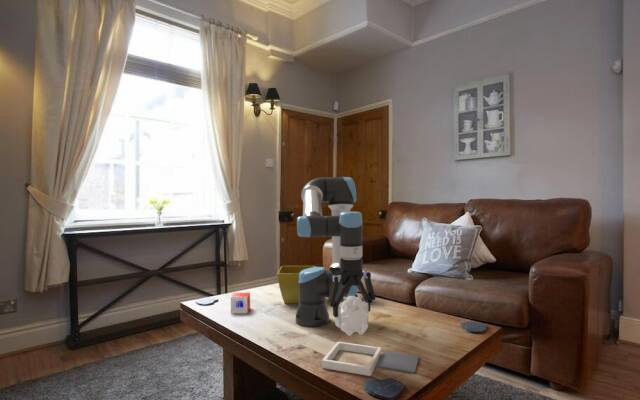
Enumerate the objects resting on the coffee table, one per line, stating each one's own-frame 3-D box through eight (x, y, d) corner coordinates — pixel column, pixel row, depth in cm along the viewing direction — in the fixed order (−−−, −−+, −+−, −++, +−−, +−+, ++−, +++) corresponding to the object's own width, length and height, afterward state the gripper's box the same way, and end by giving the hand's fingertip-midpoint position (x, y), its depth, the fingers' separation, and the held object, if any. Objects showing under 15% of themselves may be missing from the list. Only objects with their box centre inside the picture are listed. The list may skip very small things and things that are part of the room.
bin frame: (322, 367, 117) (321, 360, 117) (337, 348, 132) (337, 341, 132) (370, 376, 111) (370, 368, 111) (381, 354, 126) (381, 347, 126)
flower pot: (314, 305, 184) (314, 272, 184) (277, 305, 184) (276, 273, 184) (315, 295, 203) (315, 265, 203) (281, 295, 204) (281, 266, 203)
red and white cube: (250, 308, 182) (250, 292, 182) (247, 313, 174) (247, 296, 174) (234, 308, 181) (234, 292, 181) (230, 313, 173) (230, 297, 173)
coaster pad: (376, 367, 116) (376, 365, 116) (383, 352, 128) (383, 350, 128) (414, 373, 112) (414, 371, 112) (418, 357, 123) (418, 355, 123)
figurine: (336, 326, 127) (336, 292, 126) (364, 325, 128) (363, 291, 127) (340, 338, 117) (340, 301, 116) (370, 336, 118) (370, 300, 117)
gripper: (325, 263, 113) (326, 333, 114) (385, 256, 122) (386, 321, 123) (316, 258, 120) (317, 325, 121) (374, 253, 129) (374, 314, 130)
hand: (352, 323), depth 122 cm, fingers closed on figurine, 10 cm apart
